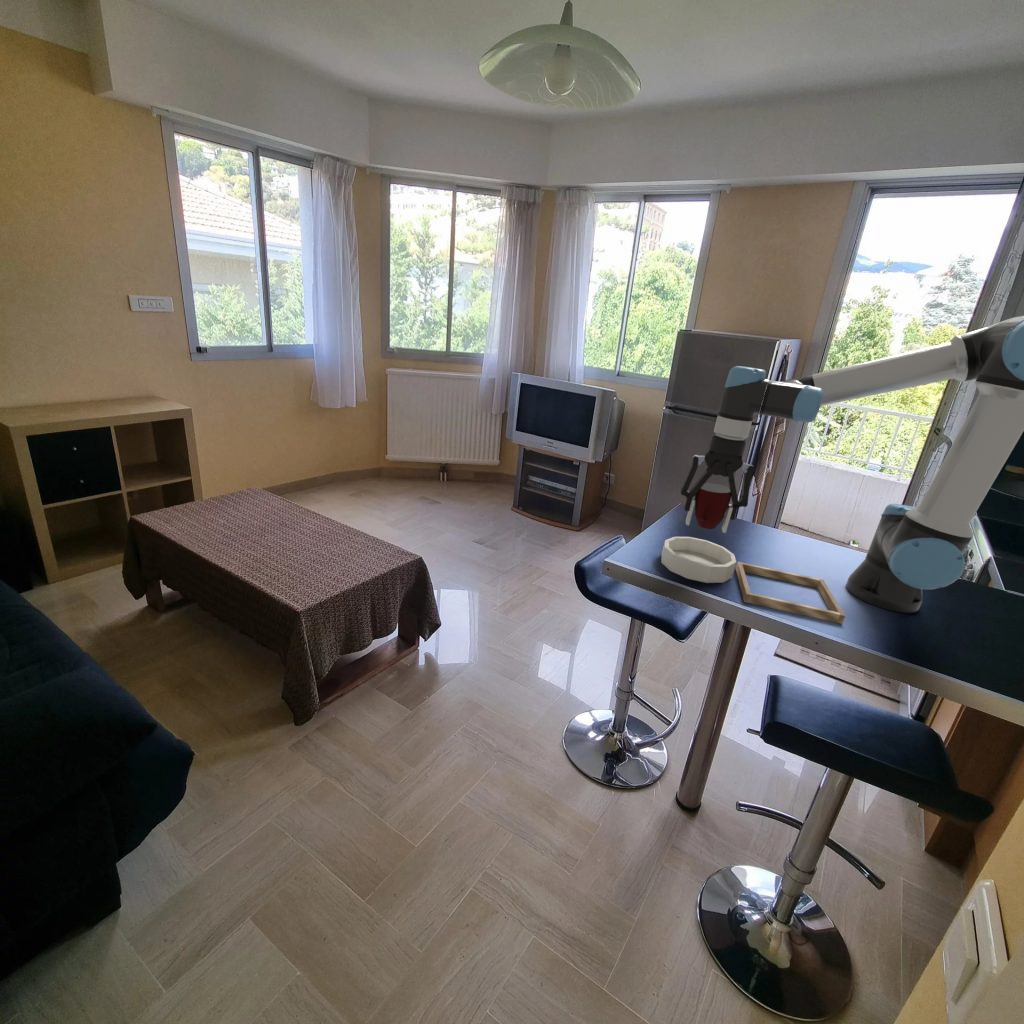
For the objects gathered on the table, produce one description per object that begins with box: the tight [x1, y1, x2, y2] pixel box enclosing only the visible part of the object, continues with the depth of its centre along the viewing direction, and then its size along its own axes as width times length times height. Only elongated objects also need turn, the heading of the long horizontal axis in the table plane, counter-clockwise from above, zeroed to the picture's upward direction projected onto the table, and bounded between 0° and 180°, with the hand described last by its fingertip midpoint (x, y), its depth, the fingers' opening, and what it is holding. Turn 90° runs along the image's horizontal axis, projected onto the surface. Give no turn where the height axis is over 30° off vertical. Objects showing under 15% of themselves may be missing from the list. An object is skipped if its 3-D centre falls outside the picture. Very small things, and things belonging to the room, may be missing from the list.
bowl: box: [660, 536, 737, 584], centre depth 130 cm, size 17×17×4 cm
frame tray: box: [734, 561, 846, 625], centre depth 121 cm, size 20×18×2 cm
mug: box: [694, 482, 732, 530], centre depth 125 cm, size 11×8×10 cm
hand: (705, 526), depth 127 cm, fingers closed on mug, 8 cm apart
